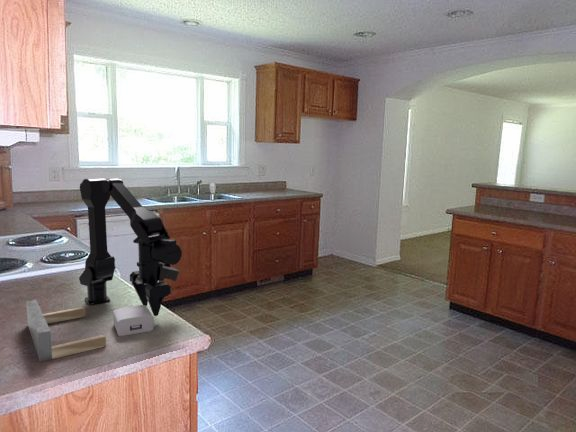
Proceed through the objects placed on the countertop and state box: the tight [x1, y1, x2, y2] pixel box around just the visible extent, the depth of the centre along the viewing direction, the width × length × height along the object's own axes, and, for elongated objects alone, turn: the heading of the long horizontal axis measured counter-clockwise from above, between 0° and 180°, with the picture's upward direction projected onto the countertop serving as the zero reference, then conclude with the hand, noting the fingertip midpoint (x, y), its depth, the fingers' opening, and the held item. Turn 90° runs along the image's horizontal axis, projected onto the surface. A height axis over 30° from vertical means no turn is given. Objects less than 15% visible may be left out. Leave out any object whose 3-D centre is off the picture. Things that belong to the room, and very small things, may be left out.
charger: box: [112, 304, 155, 337], centre depth 121 cm, size 5×9×15 cm
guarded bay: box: [25, 299, 107, 363], centre depth 112 cm, size 25×14×7 cm, turn 37°
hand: (150, 310), depth 126 cm, fingers open, 9 cm apart
